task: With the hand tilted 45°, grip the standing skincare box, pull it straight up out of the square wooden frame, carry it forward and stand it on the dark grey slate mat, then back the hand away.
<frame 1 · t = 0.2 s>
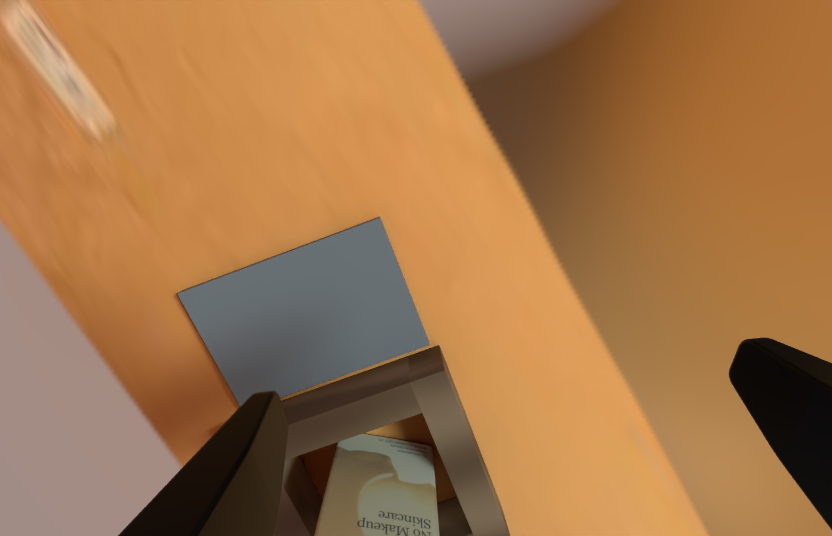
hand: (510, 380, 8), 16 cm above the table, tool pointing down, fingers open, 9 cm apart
slate mat: (308, 316, 24), on the table
skincare box: (378, 461, 27), resting in square wooden frame
square wooden frame: (378, 463, 27), on the table
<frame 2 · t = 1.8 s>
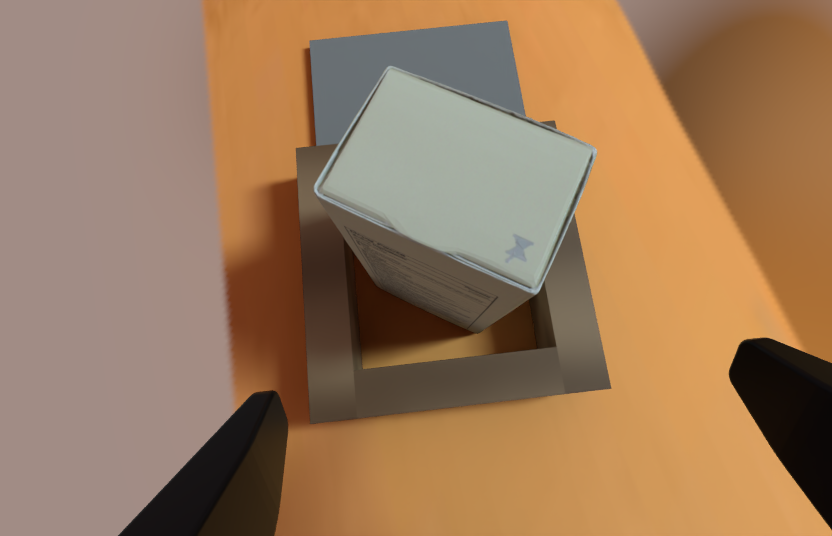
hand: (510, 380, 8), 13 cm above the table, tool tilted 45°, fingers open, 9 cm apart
slate mat: (416, 93, 24), on the table
skincare box: (439, 274, 22), resting in square wooden frame
square wooden frame: (439, 273, 22), on the table
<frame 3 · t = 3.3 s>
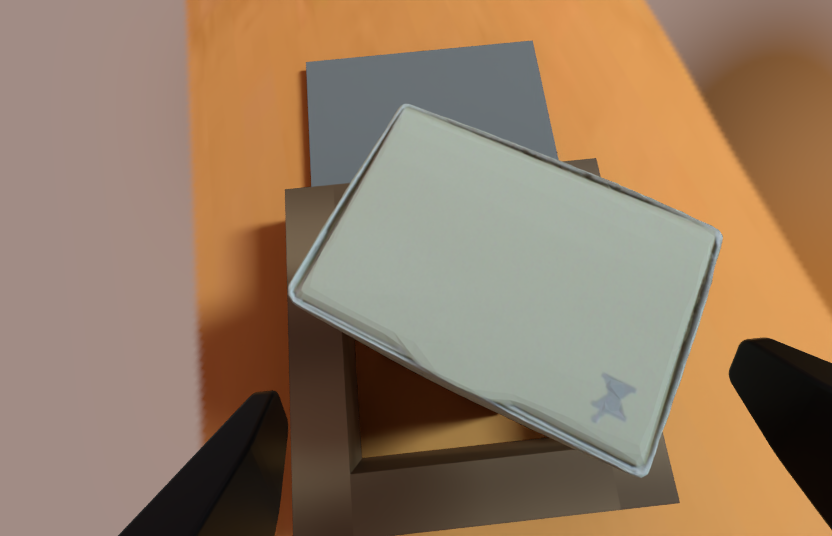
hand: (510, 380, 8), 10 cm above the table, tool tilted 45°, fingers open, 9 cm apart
slate mat: (428, 123, 21), on the table
skincare box: (455, 338, 19), resting in square wooden frame
square wooden frame: (455, 337, 18), on the table
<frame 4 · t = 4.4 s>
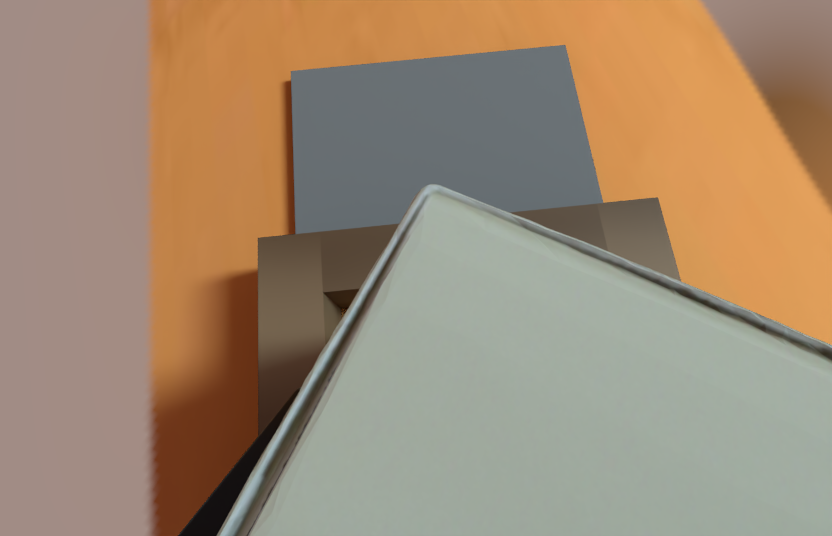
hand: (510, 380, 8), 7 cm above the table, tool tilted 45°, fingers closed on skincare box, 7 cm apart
slate mat: (439, 145, 17), on the table
skincare box: (474, 420, 15), resting in square wooden frame, touching gripper
square wooden frame: (475, 421, 15), on the table
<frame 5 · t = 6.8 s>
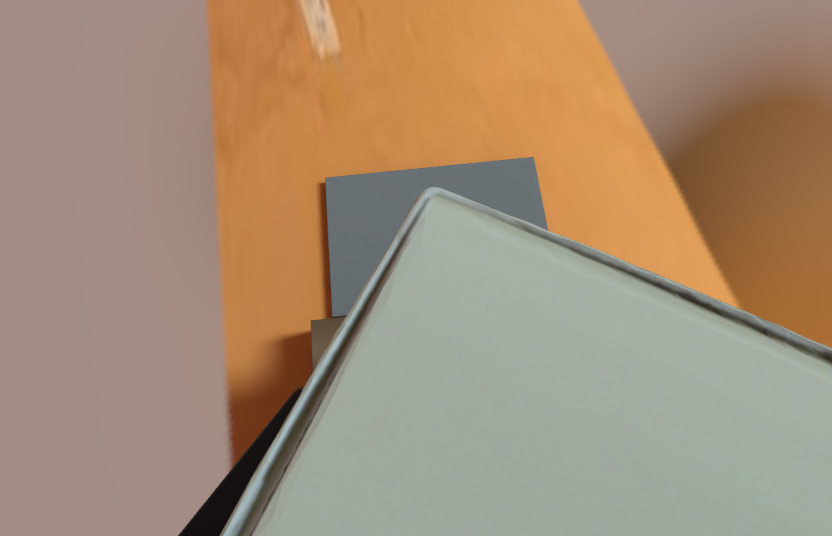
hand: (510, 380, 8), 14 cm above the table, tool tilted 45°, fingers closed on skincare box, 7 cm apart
slate mat: (437, 235, 23), on the table
skincare box: (474, 420, 15), point 6 cm above the table, touching gripper
square wooden frame: (463, 446, 20), on the table
when the fingers open (9 cm above the table, at t = 9.2 s): skincare box drops 1 cm, resting on slate mat.
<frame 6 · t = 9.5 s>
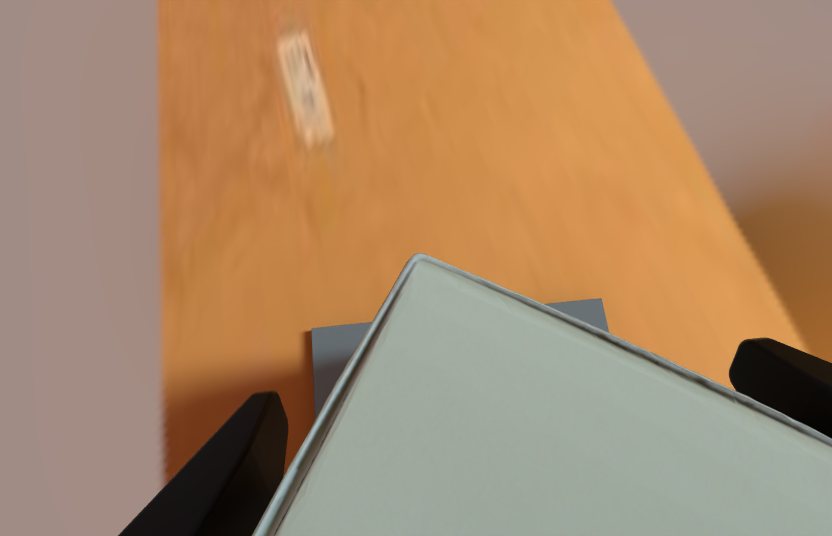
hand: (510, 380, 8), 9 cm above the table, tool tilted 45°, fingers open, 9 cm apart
slate mat: (469, 414, 16), on the table
skincare box: (466, 422, 16), resting on slate mat
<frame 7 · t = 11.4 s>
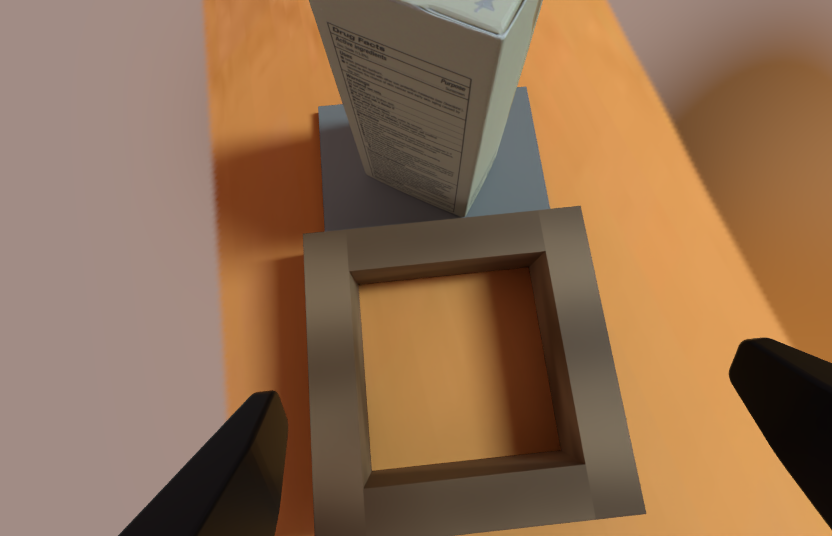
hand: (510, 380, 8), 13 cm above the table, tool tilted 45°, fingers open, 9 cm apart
slate mat: (430, 163, 23), on the table
skincare box: (427, 165, 23), resting on slate mat
square wooden frame: (454, 363, 21), on the table
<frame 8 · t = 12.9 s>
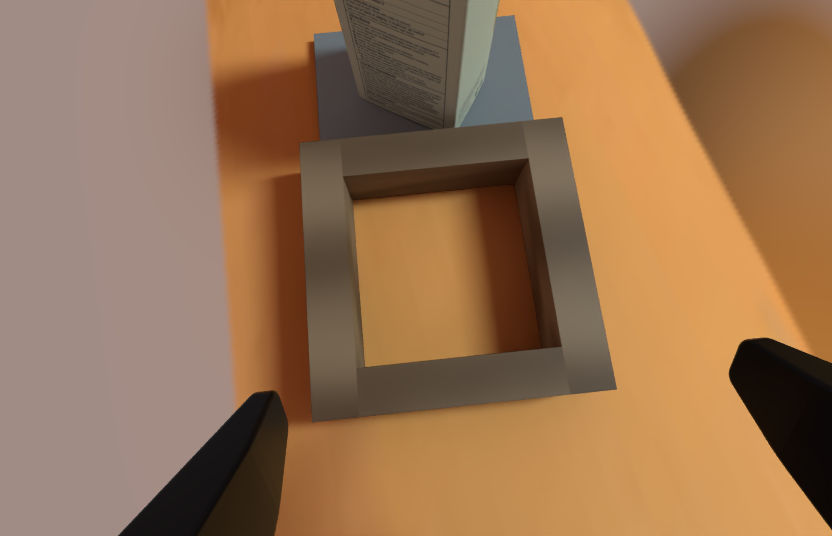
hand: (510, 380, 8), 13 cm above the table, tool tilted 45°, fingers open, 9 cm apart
slate mat: (421, 88, 24), on the table
skincare box: (419, 89, 24), resting on slate mat
square wooden frame: (443, 271, 22), on the table
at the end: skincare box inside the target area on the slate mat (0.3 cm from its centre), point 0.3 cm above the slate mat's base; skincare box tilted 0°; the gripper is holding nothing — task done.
